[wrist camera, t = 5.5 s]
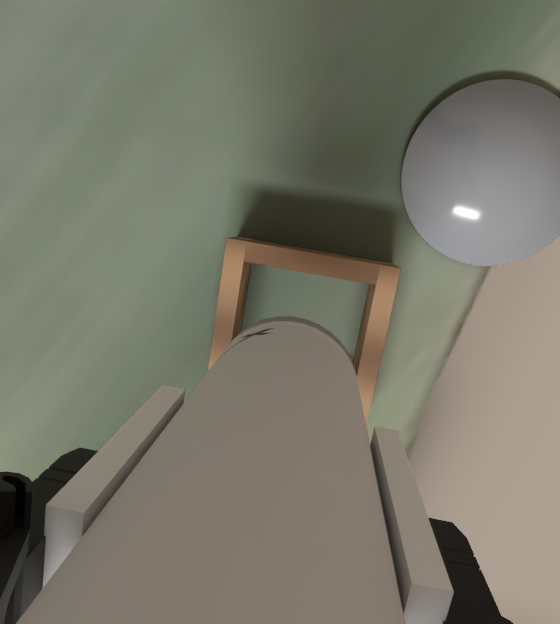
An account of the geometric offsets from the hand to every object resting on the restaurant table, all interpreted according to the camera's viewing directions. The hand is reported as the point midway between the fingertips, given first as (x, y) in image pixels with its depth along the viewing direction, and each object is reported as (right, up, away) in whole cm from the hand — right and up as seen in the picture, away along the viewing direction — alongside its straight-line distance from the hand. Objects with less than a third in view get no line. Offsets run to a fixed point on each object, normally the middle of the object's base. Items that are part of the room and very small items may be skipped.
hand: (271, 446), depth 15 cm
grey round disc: (+13, +13, +14) cm, 23 cm away
